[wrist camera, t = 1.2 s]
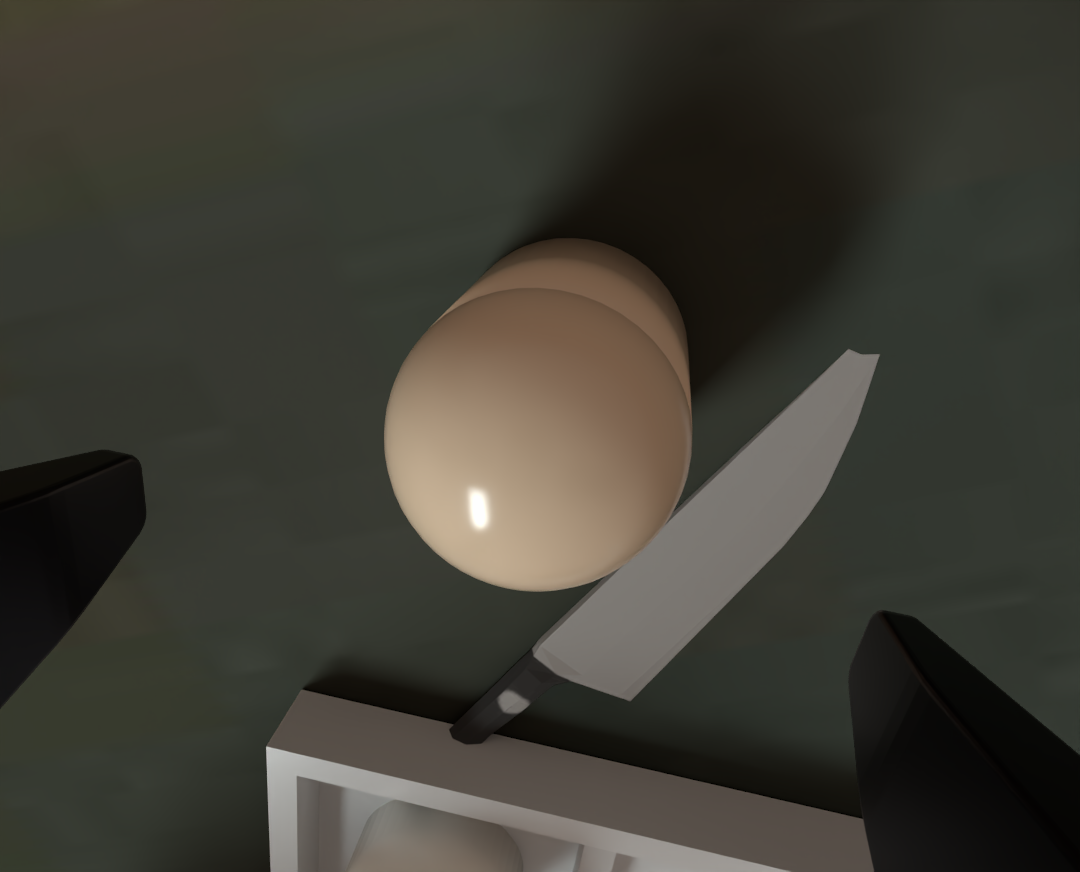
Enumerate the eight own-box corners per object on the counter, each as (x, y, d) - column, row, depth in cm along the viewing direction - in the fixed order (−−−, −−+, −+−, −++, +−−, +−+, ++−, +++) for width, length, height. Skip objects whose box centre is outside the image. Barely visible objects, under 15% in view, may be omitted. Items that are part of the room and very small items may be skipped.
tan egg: (661, 479, 16) (654, 691, 11) (447, 437, 17) (329, 619, 11) (712, 260, 14) (738, 378, 9) (467, 218, 15) (336, 304, 9)
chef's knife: (1035, 354, 15) (927, 258, 14) (1065, 376, 14) (951, 274, 13) (478, 818, 23) (395, 769, 22) (470, 854, 22) (383, 803, 21)
